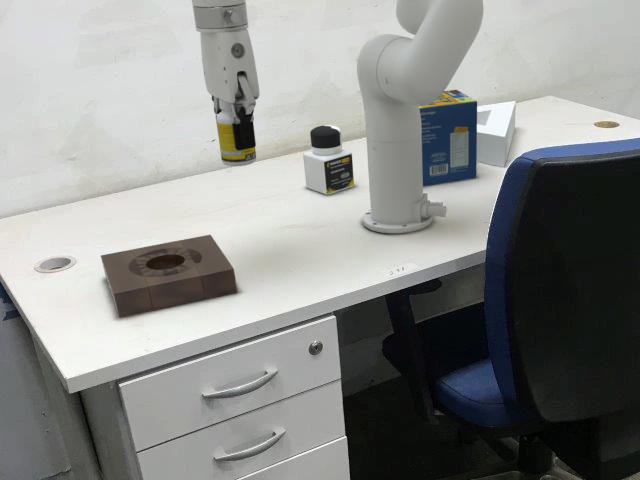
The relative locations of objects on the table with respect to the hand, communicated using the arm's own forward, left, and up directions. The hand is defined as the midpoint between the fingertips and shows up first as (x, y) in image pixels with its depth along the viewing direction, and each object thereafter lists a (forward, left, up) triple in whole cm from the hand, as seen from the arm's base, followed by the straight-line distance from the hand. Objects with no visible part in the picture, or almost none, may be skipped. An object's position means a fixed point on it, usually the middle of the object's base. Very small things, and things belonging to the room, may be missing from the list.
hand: (237, 142), depth 130 cm
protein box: (-19, -47, -20) cm, 55 cm away
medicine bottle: (0, -37, -20) cm, 42 cm away
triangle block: (-24, -73, -20) cm, 80 cm away
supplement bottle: (0, 0, -3) cm, 3 cm away
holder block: (+9, +12, -20) cm, 25 cm away
